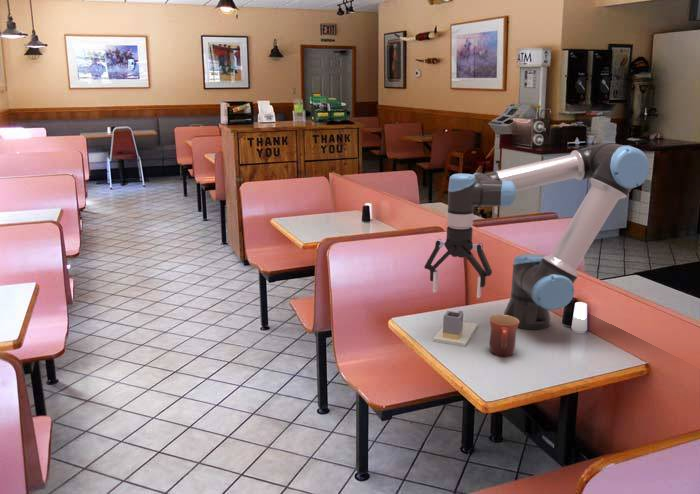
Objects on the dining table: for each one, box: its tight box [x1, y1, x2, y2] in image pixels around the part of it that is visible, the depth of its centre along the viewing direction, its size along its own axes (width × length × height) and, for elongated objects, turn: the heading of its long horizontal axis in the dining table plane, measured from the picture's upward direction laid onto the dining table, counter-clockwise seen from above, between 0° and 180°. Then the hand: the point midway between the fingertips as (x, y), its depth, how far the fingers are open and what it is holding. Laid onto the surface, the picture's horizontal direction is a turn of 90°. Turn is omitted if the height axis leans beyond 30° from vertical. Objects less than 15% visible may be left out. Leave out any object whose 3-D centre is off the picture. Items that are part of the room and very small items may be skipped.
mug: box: [488, 314, 520, 357], centre depth 186 cm, size 12×9×10 cm
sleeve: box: [442, 310, 464, 340], centre depth 197 cm, size 5×5×7 cm
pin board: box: [432, 310, 479, 348], centre depth 201 cm, size 10×18×6 cm, turn 157°
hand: (456, 294), depth 194 cm, fingers open, 13 cm apart
